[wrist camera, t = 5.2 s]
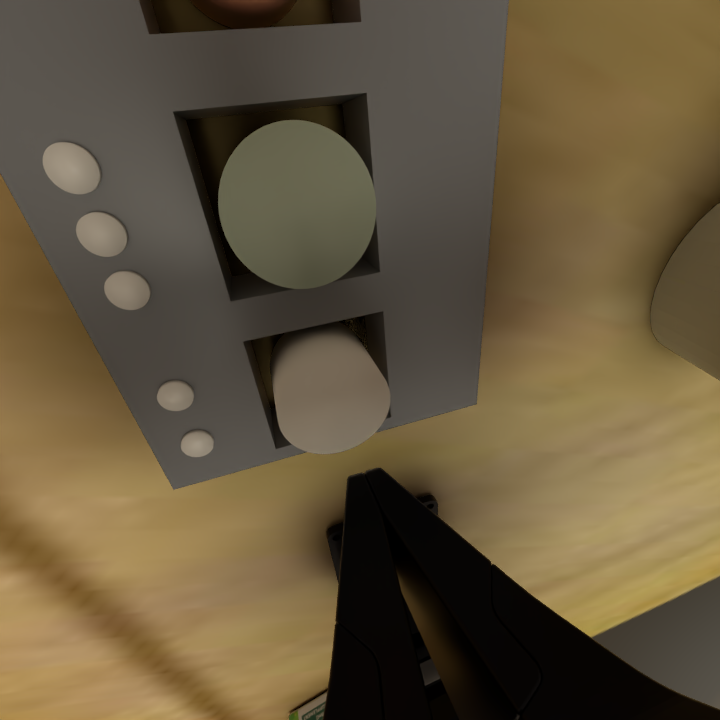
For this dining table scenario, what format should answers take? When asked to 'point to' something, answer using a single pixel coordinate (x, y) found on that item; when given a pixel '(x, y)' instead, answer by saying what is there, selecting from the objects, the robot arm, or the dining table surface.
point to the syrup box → (310, 710)
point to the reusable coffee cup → (692, 297)
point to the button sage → (297, 204)
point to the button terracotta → (245, 12)
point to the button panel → (195, 215)
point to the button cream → (327, 389)
